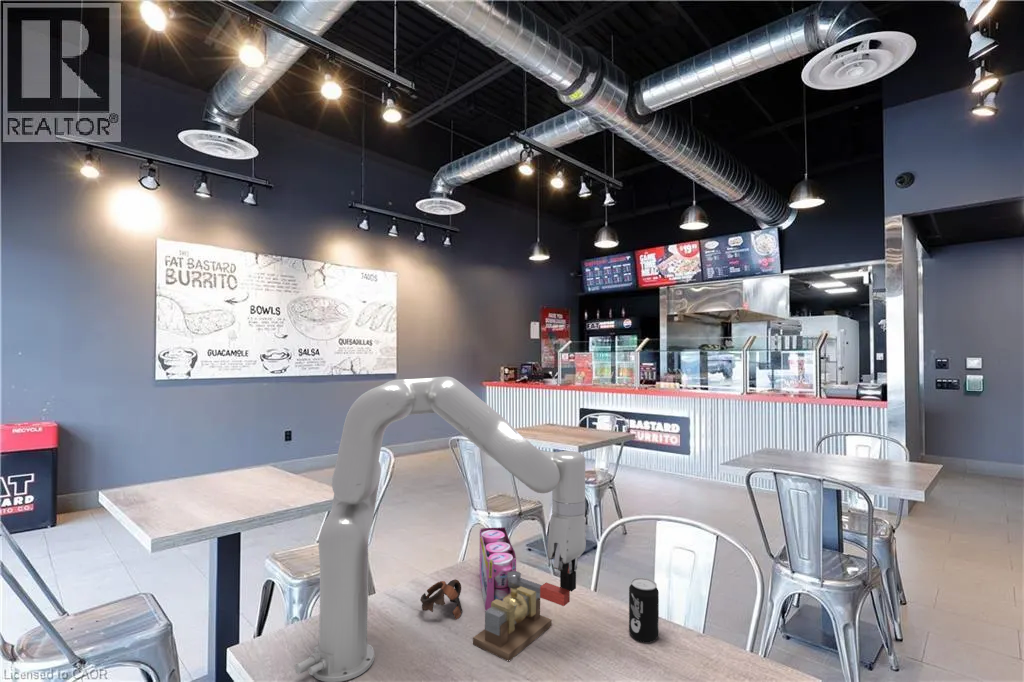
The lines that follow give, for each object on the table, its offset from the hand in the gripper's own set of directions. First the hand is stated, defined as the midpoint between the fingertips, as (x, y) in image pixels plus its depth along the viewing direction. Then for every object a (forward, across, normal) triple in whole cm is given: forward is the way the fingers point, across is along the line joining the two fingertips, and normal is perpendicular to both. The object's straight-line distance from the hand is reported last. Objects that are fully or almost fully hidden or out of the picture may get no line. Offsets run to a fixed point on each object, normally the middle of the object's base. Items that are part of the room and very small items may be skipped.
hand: (568, 588), depth 110 cm
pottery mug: (+12, +8, -31) cm, 34 cm away
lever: (0, +6, -5) cm, 7 cm away
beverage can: (+12, -12, +13) cm, 21 cm away
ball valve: (+9, +6, -11) cm, 15 cm away
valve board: (+12, +6, -11) cm, 17 cm away
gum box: (+12, -8, -27) cm, 30 cm away
